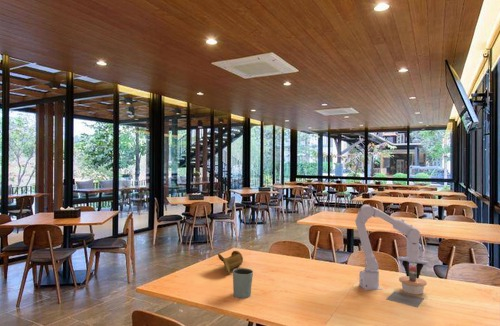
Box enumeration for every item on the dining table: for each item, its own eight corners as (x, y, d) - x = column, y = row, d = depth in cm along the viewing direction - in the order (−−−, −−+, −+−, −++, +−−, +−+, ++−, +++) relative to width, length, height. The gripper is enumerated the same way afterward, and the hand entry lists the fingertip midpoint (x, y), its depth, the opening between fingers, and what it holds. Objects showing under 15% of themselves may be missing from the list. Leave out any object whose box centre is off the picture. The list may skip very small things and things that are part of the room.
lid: (407, 286, 164) (407, 277, 164) (394, 277, 177) (394, 269, 177) (432, 285, 165) (432, 276, 165) (416, 277, 178) (416, 268, 178)
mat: (417, 308, 150) (417, 307, 150) (385, 300, 159) (385, 299, 159) (424, 299, 161) (424, 298, 161) (394, 291, 170) (394, 291, 170)
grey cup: (229, 292, 165) (229, 269, 166) (247, 290, 169) (248, 267, 170) (236, 300, 156) (237, 275, 156) (256, 297, 160) (256, 272, 160)
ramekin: (405, 286, 179) (405, 276, 179) (427, 292, 171) (427, 281, 171) (397, 291, 171) (397, 281, 171) (420, 297, 163) (420, 287, 163)
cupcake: (422, 280, 188) (422, 259, 188) (406, 279, 190) (407, 258, 190) (418, 276, 196) (418, 255, 197) (403, 274, 198) (403, 254, 198)
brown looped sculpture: (203, 258, 202) (229, 246, 218) (210, 278, 201) (236, 265, 216) (221, 254, 189) (248, 242, 205) (228, 276, 188) (254, 262, 204)
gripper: (430, 251, 170) (429, 278, 170) (400, 247, 179) (400, 272, 179) (427, 254, 164) (426, 281, 164) (396, 249, 174) (396, 275, 173)
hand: (412, 276), depth 171 cm, fingers open, 4 cm apart
